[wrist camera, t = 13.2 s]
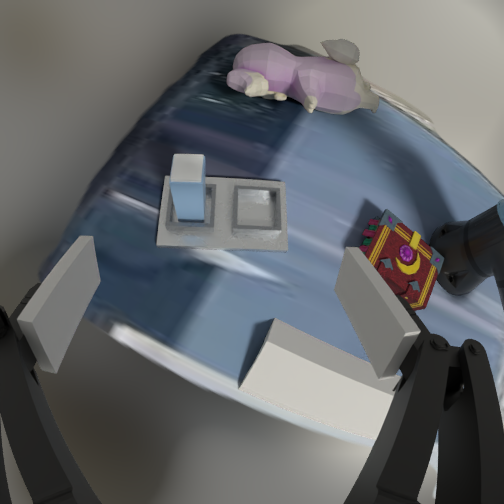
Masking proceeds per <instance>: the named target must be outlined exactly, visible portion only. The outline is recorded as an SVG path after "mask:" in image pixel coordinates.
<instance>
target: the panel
mask: <svg viewBox="0 0 504 504" xmlns="http://www.w3.org/2000/svg"><path fill="white" fill-rule="evenodd" d="M169 180H170V176H165V181H164V188H163V195H162V202H161V210H160V218H159V226H158V236H157V247H158V248H182V249H207V250H232V251H256V252H281V253H286V252H287V251H288V237H287V212H286V191H285V182H278V181H266V180H252V179H236V178H217V177H205V185H206V202H205V216H204V222H185V221H178V218H177V214H176V210H175V206H174V202H173V198H172V193H171V189H170V185H169Z"/></svg>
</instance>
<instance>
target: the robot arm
mask: <svg viewBox="0 0 504 504" xmlns="http://www.w3.org/2000/svg"><path fill="white" fill-rule="evenodd" d="M430 246H431V247H433V248H434V249H435V250H436V251H437V252H438V253H439V254H440V255H442V256H443V257H444V261H443V264H442V267H441V270H440V273H439V275H438V276H437V280H438V282H439V283H440V285H441V286H442V287H443V288H444V289H445V290H446V291H447V292H449V293H451V294H453V295H462V294H465V293H469V292H471V291H472V290H474V289H475V288H476V287H477V286H478V285H479V284H481V283H482V282H483V281H484V280H485V279H486V278H488V277H491V276H494V277H495V280H496V283H497V287H498V290H499V294H500V298H501V302H502V306H503V310H504V199H502V200H500V201H499V202H498V204H497V205H495V206H493V207H492V208H490V209H488V210H486V211H484V212H483V213H481V214H479V215H477V216H475V217H474V218H472V219H470V220H468V221H457V222H448V223H446V224H444V225H442V226H440V227H439V228H437V229H436V230H435V232H434V233H433V235H432V237H431V241H430ZM99 283H100V276H99V271H98V265H97V260H96V254H95V248H94V241H93V236H80V237H79V238H78V239H77V240H76V241H75V242H74V244H73V245H72V246H71V247H70V248H69V250H68V251H67V252H66V253H65V255H64V256H63V257H62V258H61V259H60V261H59V262H58V263H57V264H56V266H55V267H54V268H53V270H52V271H51V272H50V273H49V275H48V276H47V277H46V279H45V280H44V281H43V283H38V284H36V285H35V286H34V287H32V288H31V289H30V290H29V291H28V293H27V294H26V295H25V298H23V299H22V301H21V303H20V304H19V305H18V306H17V308H16V309H15V311H14V312H13V313H12V315H11V316H10V318H8V316H7V313H6V311H5V309H4V307H2V306H0V413H1V417H2V420H3V424H4V428H5V431H6V434H7V437H8V440H9V444H10V446H11V449H12V452H13V455H14V458H15V460H16V463H17V465H18V468H19V470H20V472H21V475H22V478H23V480H24V482H25V485H26V487H27V489H28V491H29V493H30V496H31V497H32V500H33V504H102V503H101V502H100V500H99V499H98V497H97V496H96V494H95V493H94V491H93V490H92V488H91V487H90V485H89V484H88V482H87V480H86V478H85V477H84V475H83V473H82V472H81V470H80V468H79V467H78V465H77V463H76V461H75V459H74V458H73V456H72V454H71V452H70V451H69V448H68V446H67V444H66V442H65V440H64V438H63V436H62V434H61V432H60V430H59V428H58V426H57V424H56V422H55V419H54V417H53V415H52V412H51V410H50V408H49V405H48V403H47V400H46V398H45V395H44V393H43V390H42V387H41V385H40V382H39V379H38V376H37V373H36V371H35V370H34V368H33V367H34V365H35V363H36V361H37V362H38V364H39V366H40V368H41V370H43V371H47V372H52V373H57V371H58V368H59V366H60V364H61V361H62V359H63V357H64V355H65V352H66V350H67V348H68V346H69V343H70V341H71V339H72V337H73V335H74V333H75V330H76V328H77V326H78V324H79V322H80V320H81V318H82V316H83V314H84V312H85V310H86V308H87V306H88V304H89V302H90V300H91V298H92V296H93V295H94V293H95V291H96V289H97V287H98V285H99ZM334 290H335V292H336V294H337V296H338V298H339V300H340V302H341V304H342V306H343V308H344V310H345V312H346V314H347V316H348V318H349V320H350V322H351V324H352V326H353V328H354V330H355V332H356V334H357V336H358V338H359V340H360V342H361V344H362V346H363V348H364V350H365V352H366V354H367V356H368V358H369V360H370V362H371V364H372V367H373V369H374V371H375V373H376V375H377V377H378V379H379V380H384V379H389V378H394V376H395V375H396V373H397V371H398V370H399V369H400V370H401V372H402V374H403V375H402V377H401V378H400V380H399V381H398V383H397V384H396V386H395V387H394V389H393V390H392V391H395V390H396V391H395V394H394V397H393V400H392V402H391V405H390V408H389V410H388V413H387V415H386V418H385V420H384V423H383V425H382V428H381V430H380V432H379V435H378V437H377V439H376V441H375V444H374V446H373V448H372V450H371V453H370V454H369V457H368V459H367V461H366V463H365V465H364V467H363V469H362V471H361V473H360V475H359V477H358V479H357V480H356V482H355V484H354V486H353V488H352V490H351V491H350V493H349V495H348V497H347V498H346V500H345V502H344V504H420V503H419V502H418V501H417V497H418V494H419V491H420V488H421V485H422V482H423V479H424V476H425V473H426V470H427V467H428V464H429V461H430V457H431V454H432V450H433V446H434V443H435V439H436V435H437V430H438V474H437V488H436V499H435V504H504V429H503V423H502V417H501V411H500V406H499V401H498V397H497V392H496V388H495V383H494V379H493V375H492V372H491V368H490V364H489V361H488V357H487V354H486V351H485V349H484V347H483V346H482V345H481V343H479V342H478V341H476V340H473V339H467V340H465V341H464V343H463V344H462V346H461V347H455V346H450V345H449V343H448V341H447V340H446V339H445V338H443V337H442V336H440V335H437V334H430V332H429V331H428V329H427V328H426V326H425V325H424V324H423V322H422V321H421V319H420V318H419V317H418V315H416V313H415V311H414V310H412V307H411V306H410V305H409V303H408V302H407V301H406V300H405V299H404V298H402V297H401V296H400V295H395V294H394V293H393V291H392V290H391V289H390V287H389V286H388V285H387V283H386V282H385V281H384V280H383V278H382V277H381V276H380V274H379V273H378V272H377V270H376V269H375V268H374V266H373V265H372V264H371V263H370V261H369V260H368V259H367V258H366V256H365V255H364V254H363V253H362V251H361V250H360V249H359V248H358V247H346V248H345V252H344V256H343V260H342V263H341V267H340V271H339V274H338V278H337V281H336V285H335V288H334ZM463 386H464V389H463ZM0 504H12V502H11V498H10V494H9V489H8V483H7V478H6V472H5V465H4V458H3V449H2V439H1V424H0Z"/></svg>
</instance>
